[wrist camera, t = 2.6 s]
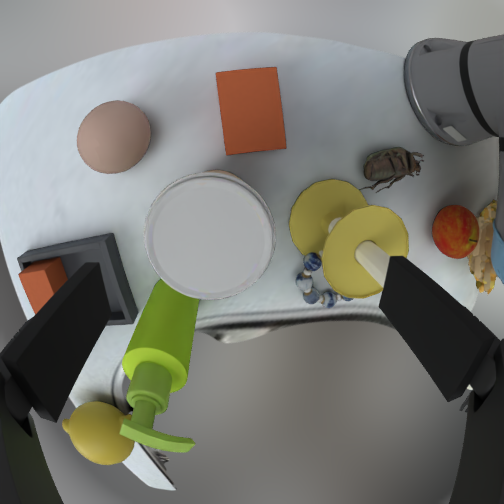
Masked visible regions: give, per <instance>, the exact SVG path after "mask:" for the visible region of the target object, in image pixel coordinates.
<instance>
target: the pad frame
mask: <svg viewBox="0 0 504 504" xmlns="http://www.w3.org/2000/svg"><path fill="white" fill-rule="evenodd" d="M57 257H60V258H61V261H62V264H63V267H64V270H65V273H66V276H67V278H68V279H69V278H70V277H71V276H72V275H73V274H74V273H75V272H76V271H77V270H78V269H79V268H80V267H81V266H82V265H83V264H84V263H85V262H99V263H100V267H101V272H102V276H103V281H104V285H105V289H106V293H107V297H108V301H109V305H110V308H111V312H112V316H111V317H110V319H109V321H108V322H107V324H106V326H108V325H126V324H133V323H134V321H135V319H136V317H137V314H138V310H137V308H136V305H135V302H134V299H133V296H132V293H131V290H130V287H129V284H128V281H127V278H126V275H125V272H124V269H123V266H122V262H121V259H120V255H119V252H118V248H117V245H116V241H115V238H114V234H113V233H111V234H105V235H100V236H95V237H90V238H85V239H80V240H76V241H71V242H66V243H61V244H57V245H52V246H48V247H43V248H39V249H35V250H30V251H27V252H25V253H24V254H22V255H21V256H20V257H18V258H17V260H18V263H19V266H20V268H21V271H23V270H24V269H25V268H27V267H28V266H29V265H30V264H32V263H33V262H36V261H41V260H46V259H52V258H57Z"/></svg>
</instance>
